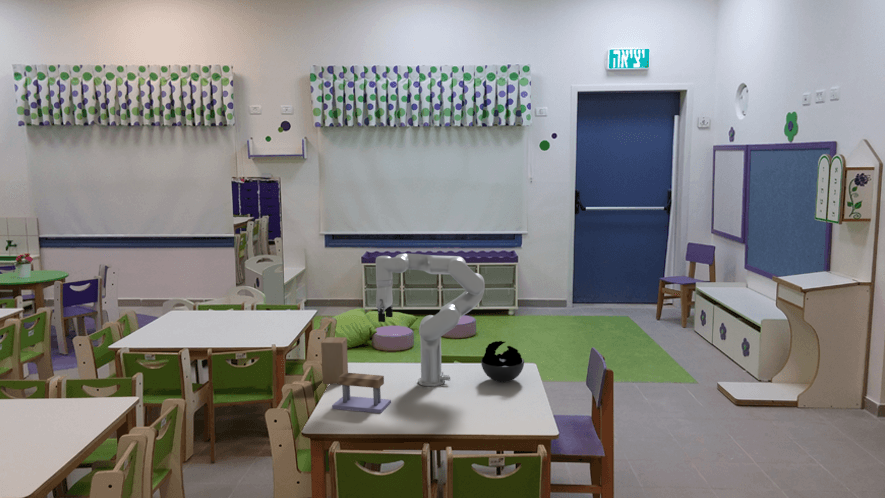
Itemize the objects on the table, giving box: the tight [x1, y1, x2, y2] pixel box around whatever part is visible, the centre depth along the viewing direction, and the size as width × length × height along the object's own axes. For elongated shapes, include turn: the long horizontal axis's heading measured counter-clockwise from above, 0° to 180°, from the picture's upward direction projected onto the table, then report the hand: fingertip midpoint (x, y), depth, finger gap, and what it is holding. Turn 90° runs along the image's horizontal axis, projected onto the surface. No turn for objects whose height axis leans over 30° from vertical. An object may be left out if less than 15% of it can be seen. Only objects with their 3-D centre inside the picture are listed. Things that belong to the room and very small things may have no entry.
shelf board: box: [338, 372, 385, 389], centre depth 293 cm, size 18×6×4 cm, turn 72°
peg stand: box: [331, 385, 392, 414], centre depth 294 cm, size 22×12×10 cm, turn 74°
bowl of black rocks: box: [480, 340, 525, 383], centre depth 322 cm, size 20×20×19 cm
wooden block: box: [320, 336, 349, 385], centre depth 327 cm, size 10×10×20 cm
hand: (385, 319), depth 320 cm, fingers open, 9 cm apart
